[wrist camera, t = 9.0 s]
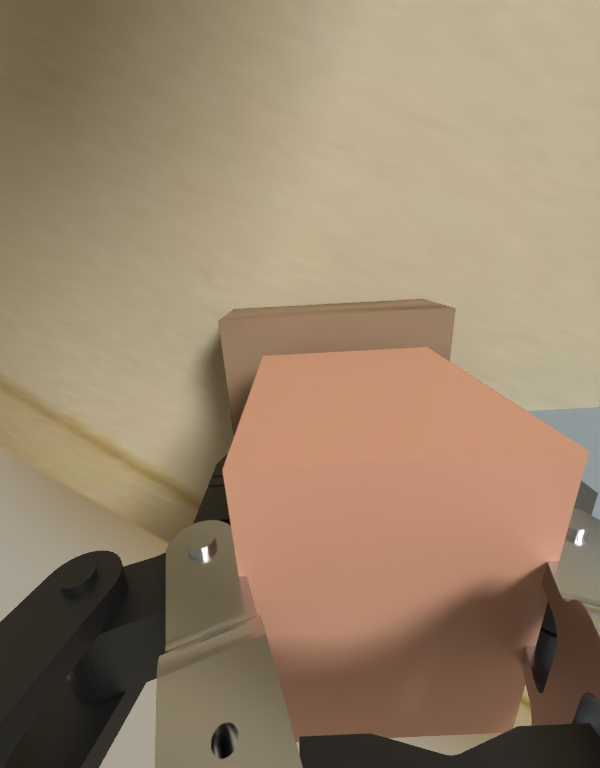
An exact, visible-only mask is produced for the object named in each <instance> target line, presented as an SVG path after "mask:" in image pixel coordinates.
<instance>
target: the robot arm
mask: <svg viewBox="0 0 600 768" xmlns="http://www.w3.org/2000/svg"><path fill="white" fill-rule="evenodd" d="M227 455H228V454H227ZM227 455H226V456H225V457H224V458H223V459H222V460H221V461H220V462H218V463H217V465H216V467H215V470H214V472H213V475H212V478H211V480H210V483H209V485H208V488H207V490H206V493H205V495H204V498H203V500H202V503H201V506H200V508H199V511H198V513H197V516H196V518H195V521H194V523H193V524H192V525H190V526H188V527H186V528H185V529H183V530H182V531H180V532H179V533H178V534H177V535H176V536H175V537H174V538H173V539H172V541H171V542H170V544H169V545H168V548H167V551H166V553H163V554H162V555H159V556H156V557H154V558H150V559H147V560H144V561H141V562H138V563H134V564H131V565H128V566H125V567H123V565H122V562H121V560H120V557H118V555H117V554H115V553H113V552H110V551H95V552H90V553H86V554H83V555H81V556H78V557H76V558H74V559H72V560H70V561H68V562H67V563H65V564H63V565H62V566H60V567H59V568H58V569H56V570H55V571H54V572H53V573H52V574H51V575H50V576H48V577H47V578H46V579H45V580H44V581H43V582H42V583H41V584H40V585H39V586H38V587H37V588H36V589H35V590H34V591H33V592H31V593H30V594H29V596H27V597H26V598H25V599H24V600H23V601H22V602H21V603H20V604H19V605H18V606H17V607H16V608H15V609H14V610H13V611H12V612H10V613H9V614H8V615H7V616H6V617H5V618H4V619H3V620H2V621H1V622H0V768H99V766H100V765H101V763H102V761H103V759H104V757H105V756H106V754H107V752H108V750H109V748H110V747H111V745H112V743H113V741H114V739H115V738H116V736H117V734H118V732H119V730H120V729H121V727H122V725H123V723H124V721H125V719H126V718H127V716H128V714H129V713H130V711H131V709H132V707H133V705H134V704H135V702H136V700H137V698H138V696H139V695H140V693H141V691H142V689H143V687H144V685H145V684H146V682H148V681H151V680H153V679H156V678H157V690H156V691H157V692H156V734H155V736H156V737H155V768H600V520H599V519H597V518H595V517H594V516H592V515H590V514H588V513H586V512H584V511H582V510H579V509H576V508H574V509H573V512H572V516H571V519H570V523H569V527H568V530H567V534H566V538H565V541H564V545H563V549H562V552H561V556H560V560H559V561H547V565H546V568H545V572H544V576H543V580H542V585H543V588H544V591H545V593H546V596H547V599H548V603H547V607H546V611H545V614H544V618H543V621H542V625H541V629H540V632H539V636H538V640H537V643H536V645H535V646H525V649H524V653H523V657H522V661H521V665H522V670H523V674H524V678H525V683H526V687H527V691H528V696H529V700H530V706H531V715H532V726H518V727H516V728H514V729H512V730H510V731H507V732H505V733H503V734H501V735H499V736H497V737H495V738H493V739H491V740H488V741H486V742H484V743H482V744H480V745H478V746H476V747H474V748H471V749H470V750H467V751H465V752H463V753H461V754H458V755H453V756H449V755H444V754H440V753H437V752H433V751H430V750H426V749H422V748H420V747H416V746H413V745H409V744H406V743H402V742H399V741H395V740H392V739H389V738H385V737H382V736H378V735H375V734H371V733H365V734H344V735H322V736H300V737H299V742H300V743H299V744H300V755H299V752H298V748H297V745H296V741H295V737H294V733H293V730H292V726H291V723H290V719H289V715H288V712H287V708H286V704H285V701H284V697H283V694H282V690H281V686H280V683H279V679H278V675H277V672H276V668H275V664H274V661H273V657H272V654H271V650H270V646H269V643H268V639H267V635H266V632H265V628H264V625H263V622H262V619H261V616H260V615H257V612H256V608H255V605H254V601H253V597H252V593H251V590H250V586H249V582H248V578H247V576H239V575H238V569H237V562H236V556H235V549H234V543H233V536H232V530H231V523H230V517H229V510H228V504H227V497H226V491H225V484H224V478H223V471H222V469H223V467H224V464H225V461H226V458H227Z"/></svg>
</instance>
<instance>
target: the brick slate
mask: <svg viewBox="0 0 600 768" xmlns="http://www.w3.org/2000/svg"><path fill="white" fill-rule="evenodd" d="M528 412H529V413H531V414H532V415H534V416H535V417H537V418H539V419H540V420H542V421H543V422H545V423H546V424H548V425H550V426H551V427H553V428H554V429H556V430H557V431H559V432H560V433H562V434H564V435H565V436H567V437H568V438H570V439H571V440H573V441H574V442H576V443H578V444H579V445H581V446H582V447H584V448H585V449H587V450H589V454H588V458H587V461H586V465H585V469H584V472H583V476H582V479H581V483H580V487H579V490H578V494H577V498H576V501H575V505H574V508H576V509H579V510H582V511H584V512H586V513H588V514H590V515H592V516H594V517H595V518H597V519H599V520H600V407H597V408H578V409H559V410H540V411H528Z"/></svg>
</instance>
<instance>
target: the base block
mask: <svg viewBox="0 0 600 768" xmlns="http://www.w3.org/2000/svg"><path fill="white" fill-rule="evenodd" d="M454 316H455V308H452V307H449V306H445V305H442V304H438V303H435V302H431V301H428V300H425V299H417V300H398V301H379V302H361V303H342V304H323V305H305V306H286V307H267V308H248V309H233V310H232V311H231V312H230V313H228V314H227V315H226V316H224V317H223V318H222V319H220V320H219V321H218V322H219V329H220V337H221V344H222V352H223V359H224V367H225V374H226V382H227V389H228V396H229V404H230V411H231V419H232V426H233V434H234V436H235V433H236V430H237V427H238V425H239V422H240V419H241V416H242V413H243V411H244V408H245V405H246V402H247V399H248V396H249V394H250V391H251V388H252V385H253V382H254V380H255V377H256V374H257V371H258V368H259V366H260V363H261V360H262V357H263V356H271V355H289V354H308V353H326V352H345V351H363V350H382V349H400V348H418V347H428V348H429V349H431V350H432V351H434V352H436V353H437V354H439V355H440V356H442V357H443V358H445V359H447V360H448V361H450V354H451V344H452V335H453V325H454Z"/></svg>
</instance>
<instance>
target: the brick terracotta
mask: <svg viewBox="0 0 600 768" xmlns="http://www.w3.org/2000/svg"><path fill="white" fill-rule="evenodd" d="M588 454H589V450H587V449H585V448H584V447H582V446H581V445H579V444H578V443H576V442H574V441H573V440H571V439H570V438H568V437H567V436H565V435H564V434H562V433H560V432H559V431H557V430H556V429H554V428H553V427H551V426H550V425H548V424H546V423H545V422H543V421H542V420H540V419H539V418H537V417H535V416H534V415H532V414H531V413H529V412H528V411H526V410H525V409H523V408H521V407H520V406H518V405H517V404H515V403H514V402H512V401H511V400H509V399H507V398H506V397H504V396H503V395H501V394H500V393H498V392H496V391H495V390H493V389H492V388H490V387H489V386H487V385H486V384H484V383H482V382H481V381H479V380H478V379H476V378H475V377H473V376H472V375H470V374H468V373H467V372H465V371H464V370H462V369H461V368H459V367H457V366H456V365H454V364H453V363H451V362H450V361H448V360H447V359H445V358H443V357H442V356H440V355H439V354H437V353H436V352H434V351H432V350H431V349H429V348H428V347H418V348H400V349H382V350H363V351H345V352H326V353H308V354H289V355H271V356H263V357H262V360H261V363H260V366H259V368H258V371H257V374H256V377H255V380H254V382H253V385H252V388H251V391H250V394H249V396H248V399H247V402H246V405H245V408H244V411H243V413H242V416H241V419H240V422H239V425H238V427H237V430H236V433H235V436H234V439H233V441H232V444H231V447H230V450H229V453H228V455H227V458H226V461H225V464H224V467H223V469H222V471H223V478H224V484H225V491H226V497H227V504H228V510H229V517H230V523H231V530H232V536H233V543H234V549H235V556H236V562H237V569H238V575H239V576H247V578H248V582H249V586H250V590H251V593H252V597H253V601H254V605H255V608H256V612H257V615H260V616H261V619H262V622H263V625H264V628H265V632H266V635H267V639H268V643H269V646H270V650H271V654H272V657H273V661H274V664H275V668H276V672H277V675H278V679H279V683H280V686H281V690H282V694H283V697H284V701H285V704H286V708H287V712H288V715H289V719H290V723H291V726H292V730H293V733H294V737H295V741H296V742H299V737H300V736H322V735H344V734H365V733H371V734H375V735H378V736H382V737H385V738H396V737H418V736H440V735H461V734H484V733H505V732H507V731H510V730H512V729H513V727H514V723H515V720H516V716H517V712H518V709H519V705H520V702H521V698H522V694H523V691H524V687H525V678H524V674H523V670H522V665H521V661H522V657H523V653H524V649H525V646H535V645H536V643H537V640H538V636H539V632H540V629H541V625H542V621H543V618H544V614H545V611H546V607H547V603H548V599H547V596H546V593H545V591H544V588H543V585H542V580H543V576H544V572H545V568H546V565H547V561H559V560H560V556H561V552H562V549H563V545H564V541H565V538H566V534H567V530H568V527H569V523H570V519H571V516H572V512H573V509H574V505H575V501H576V498H577V494H578V490H579V487H580V483H581V479H582V476H583V472H584V469H585V465H586V461H587V458H588Z"/></svg>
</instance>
